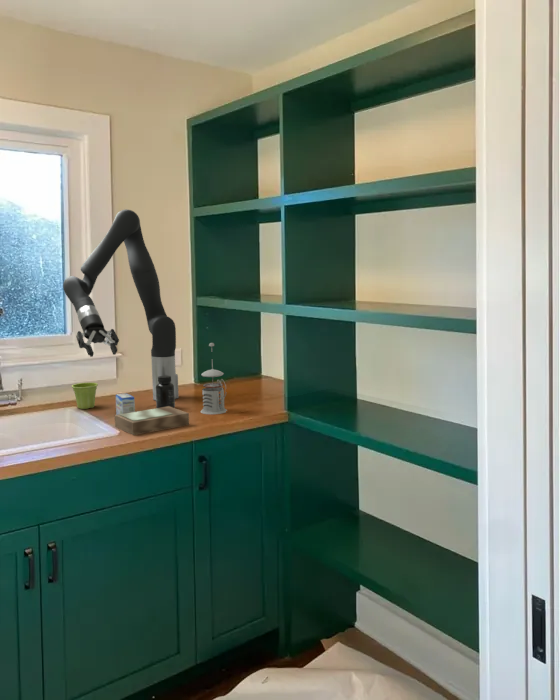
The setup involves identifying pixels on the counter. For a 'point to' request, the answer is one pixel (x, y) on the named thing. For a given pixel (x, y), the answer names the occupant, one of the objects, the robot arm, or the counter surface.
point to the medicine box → (124, 403)
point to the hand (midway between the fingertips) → (103, 354)
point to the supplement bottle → (165, 392)
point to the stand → (151, 420)
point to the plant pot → (85, 394)
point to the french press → (213, 393)
